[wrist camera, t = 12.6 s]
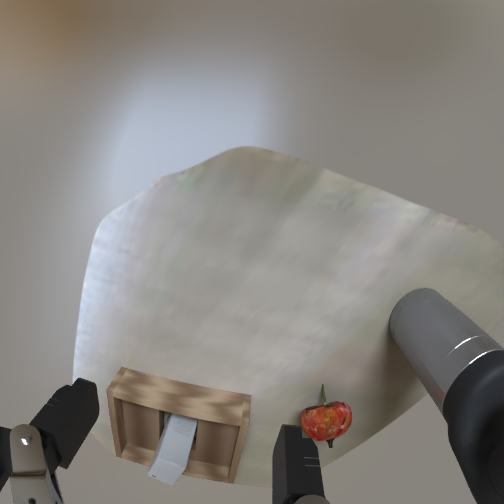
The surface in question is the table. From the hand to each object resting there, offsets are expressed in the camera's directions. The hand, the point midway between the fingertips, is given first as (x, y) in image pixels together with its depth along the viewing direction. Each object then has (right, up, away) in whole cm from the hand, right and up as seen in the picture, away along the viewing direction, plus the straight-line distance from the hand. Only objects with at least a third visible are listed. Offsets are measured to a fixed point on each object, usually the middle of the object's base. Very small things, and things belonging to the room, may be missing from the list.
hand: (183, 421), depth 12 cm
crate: (-8, -20, +34) cm, 41 cm away
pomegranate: (+14, -16, +33) cm, 39 cm away
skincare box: (-8, -20, +35) cm, 41 cm away
